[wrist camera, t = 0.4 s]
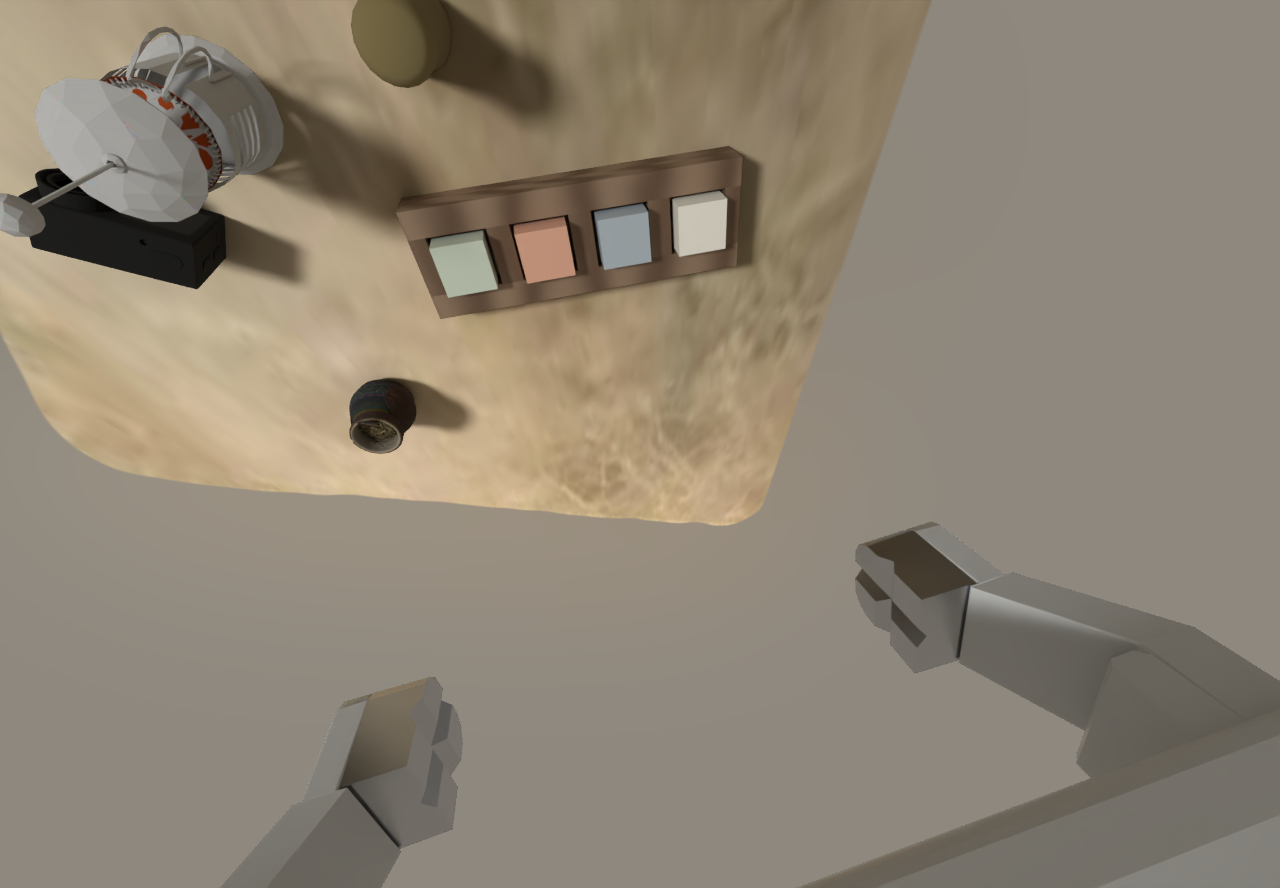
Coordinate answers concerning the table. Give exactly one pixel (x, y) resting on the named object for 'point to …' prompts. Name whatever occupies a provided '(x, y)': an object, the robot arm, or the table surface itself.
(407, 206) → the key frame
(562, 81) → the table surface
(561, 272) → the terracotta key
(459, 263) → the sage key
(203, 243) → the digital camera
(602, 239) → the slate key
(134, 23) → the table surface
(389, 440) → the mate gourd
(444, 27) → the cork
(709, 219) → the cream key
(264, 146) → the french press
